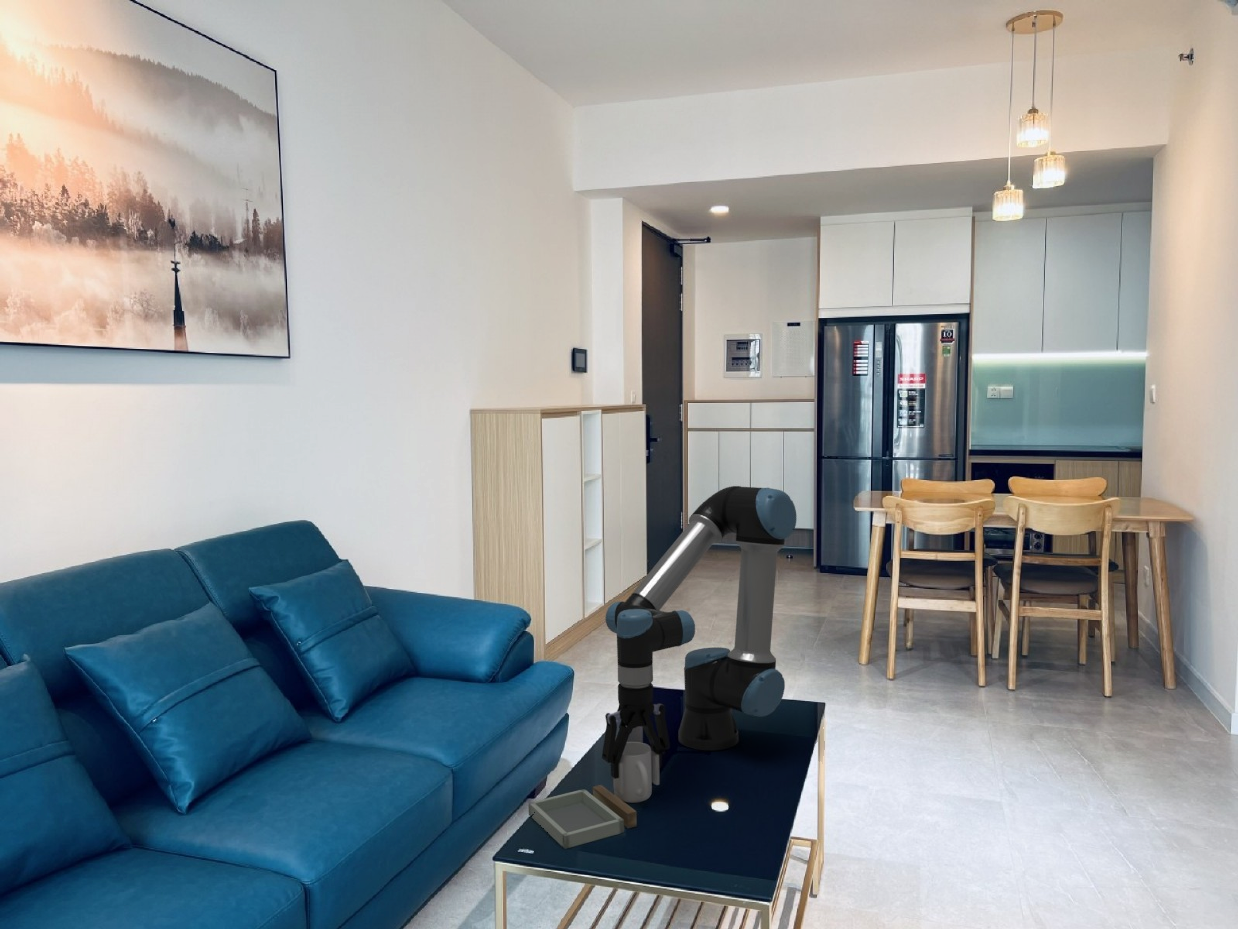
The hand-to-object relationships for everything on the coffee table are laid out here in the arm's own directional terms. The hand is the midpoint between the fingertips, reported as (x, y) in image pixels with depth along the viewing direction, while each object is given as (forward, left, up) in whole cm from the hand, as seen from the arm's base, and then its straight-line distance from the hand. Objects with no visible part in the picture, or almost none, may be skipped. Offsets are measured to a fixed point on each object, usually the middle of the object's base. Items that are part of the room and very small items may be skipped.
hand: (637, 787), depth 188 cm
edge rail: (+8, +3, -2) cm, 9 cm away
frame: (+17, +3, -2) cm, 17 cm away
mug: (0, 0, -3) cm, 3 cm away
